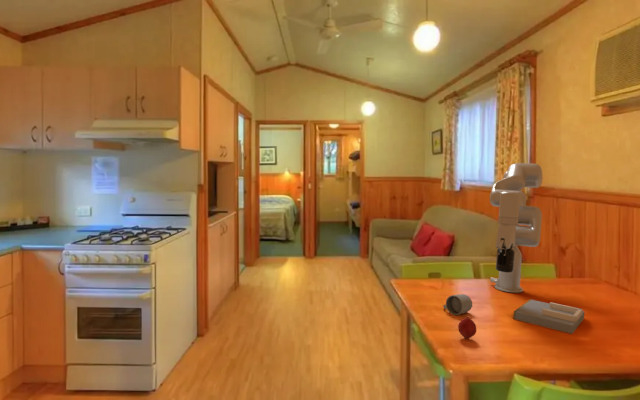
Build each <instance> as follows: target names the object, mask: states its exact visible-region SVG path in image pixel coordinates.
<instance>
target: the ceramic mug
mask: <svg viewBox="0 0 640 400" xmlns="http://www.w3.org/2000/svg"><path fill="white" fill-rule="evenodd" d="M442 307H443V309H444V310H445V309H446V310H447V311H448V312H449V314H451V315H452V316H460V315H462V314H465V313H468V312H469V311H471V309H472V308H473V301H472V299H471V298H470V296H469V295H467V294H463V293H460V294H452V295H449V296H448V297H447V299H446V301H445V304H443V305H442Z"/></svg>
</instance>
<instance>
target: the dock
mask: <svg viewBox="0 0 640 400" xmlns="http://www.w3.org/2000/svg"><path fill="white" fill-rule="evenodd" d="M584 319H585V311H584V309H583V308H579V307H575V306H570V305H564V304H560V303H556V302H551V301H550V302H549V303H548V302H543V301H540V300H535V299H528V300H527V301H526V302H524V303H523V304H521V305H520V306H519V307H518V308H516V309H515V310H514V311H513V320H517V321H519V322H520V321H521V322H524V323H529V324H531V325H535V326H538V327H539V326H541V327H544V328H548V329H552V330H556V331H559V332H563V333H567V334H571V335H572V334H573V333H574V332H575V331H576V329H578V327H579V326H580V324H581V323H582V322H583V321H584Z"/></svg>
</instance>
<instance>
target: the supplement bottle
mask: <svg viewBox="0 0 640 400" xmlns="http://www.w3.org/2000/svg"><path fill="white" fill-rule="evenodd" d="M503 248H506V247H503ZM512 248H513V243H512V245H511V247H510V249H507V253H506V256H507V261H506V265H499V264H498V253H499V251H498V250H499V249H498V248H497V250H496V262H495V270H497V271H498V272H499V271H501V272H513V269H514V257H515V251H514V250H513V249H512ZM504 251H505V250H504Z"/></svg>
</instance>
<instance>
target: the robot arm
mask: <svg viewBox="0 0 640 400" xmlns="http://www.w3.org/2000/svg"><path fill="white" fill-rule="evenodd" d="M542 184H543V169H542V167H541V166H540V165H539V164H538V163H533V162H531V163H525V162H516V163H512V164H511V165H510V166H509V167H508V168H507V171H505V172H504V174H503V177H502V178H501V179H500V180H498V181H496V182H495V183H494V184H493V185H492V187H491V190H490V194H489V204H491V206H493V207H496V208H498V218H497V225H498V228H497V233H496V234H497V235H496V239H495V241H496V242H495V247H496V248H497V250H498V249H499V250H498V251H499V253H498V264H499V265H506V261H507V256H506V253H507V249H510V247H511V245H512V243H513V248H512V249H513V250H514V251H515V257H514V269H513V272H501V271H498V277H496V278H495V277H490V278H489V281H490V282H491V283H495V284H494V288H495V289H496V290H498V291H501V292H506V293H512V294H513V293H515V294H518V293H523V292H524V289H523V287H522V286H521V275H522V274H521V273H522V259H523V254H522V252H521V250H520V249H519V246H521V247H530V248H536V247H538V246H539V245H540V242H541V234H542V233H541V232H542V221H543V215H542V210H541V208H540V207H538V206H533V205H532V206H531V205H526V203H527V195H526V194H525V193H524V192H523V191H522V190H523V189H524V188H528V189H529V188H532V189H537V188H540V187H541V185H542ZM503 247H506V248H503ZM504 250H505V251H504Z"/></svg>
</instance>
